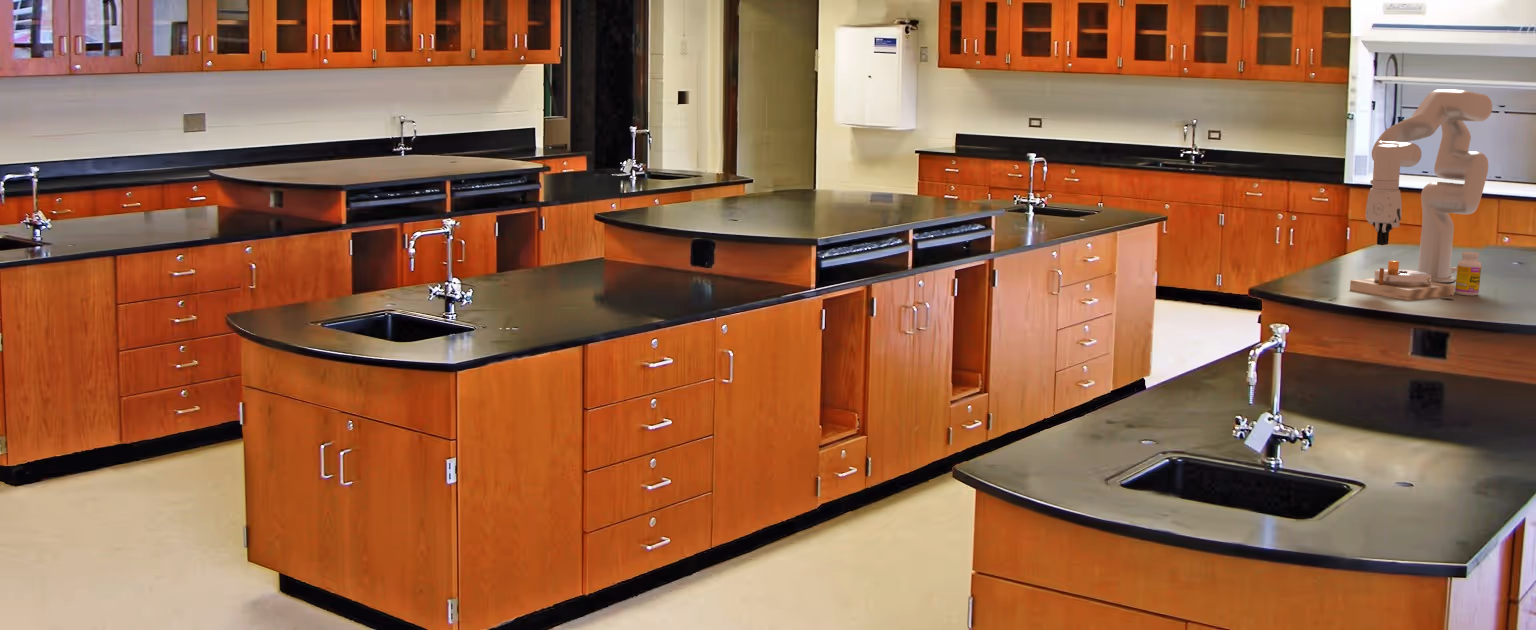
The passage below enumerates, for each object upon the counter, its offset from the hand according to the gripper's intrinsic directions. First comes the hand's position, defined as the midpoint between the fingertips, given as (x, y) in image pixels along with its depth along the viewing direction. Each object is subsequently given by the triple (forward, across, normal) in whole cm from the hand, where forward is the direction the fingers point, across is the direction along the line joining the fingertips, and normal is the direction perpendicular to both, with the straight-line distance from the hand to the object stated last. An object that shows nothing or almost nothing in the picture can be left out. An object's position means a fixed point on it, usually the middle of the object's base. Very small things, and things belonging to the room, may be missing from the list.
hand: (1382, 244), depth 479 cm
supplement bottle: (+15, +19, +16) cm, 29 cm away
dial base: (+14, +8, 0) cm, 16 cm away
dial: (+11, +8, 0) cm, 13 cm away
